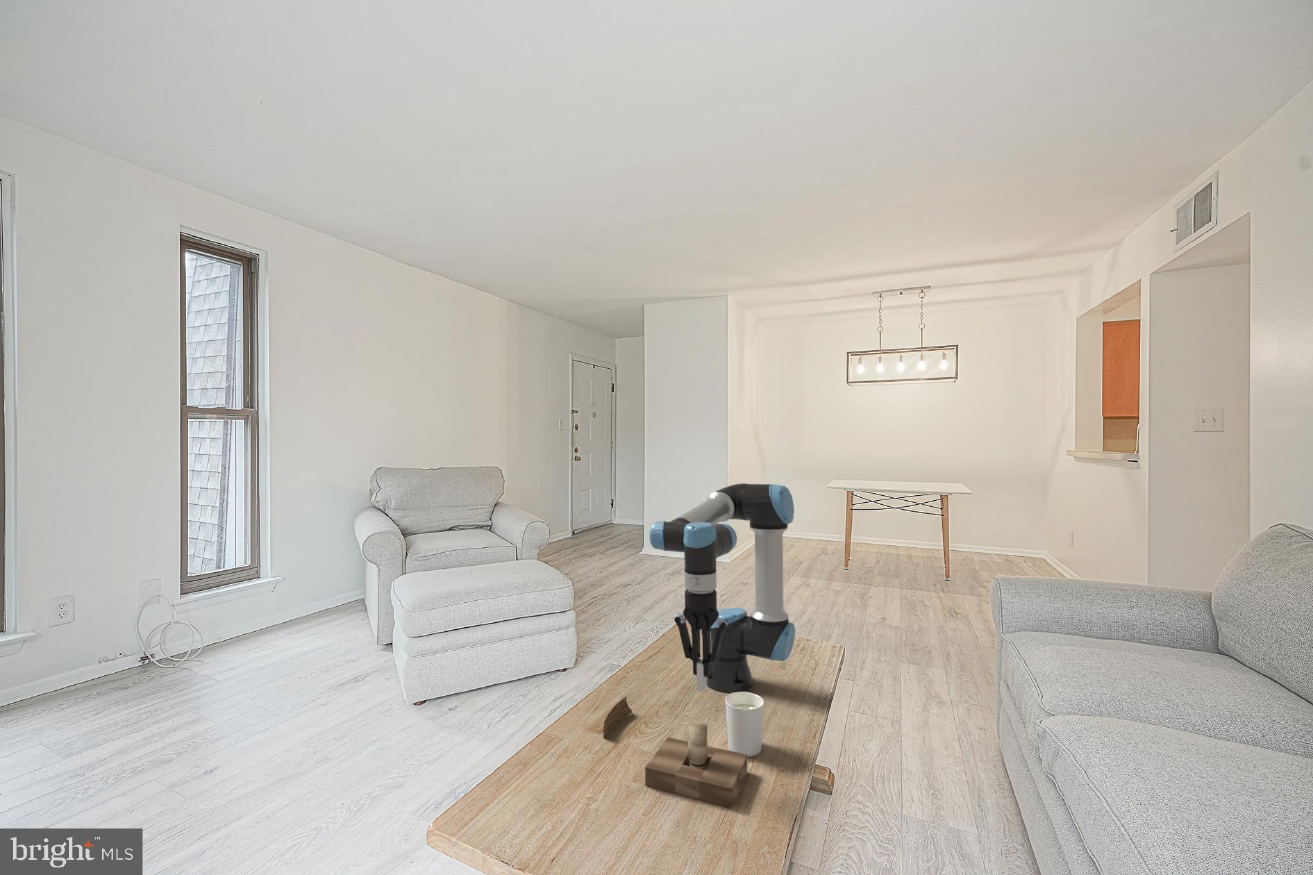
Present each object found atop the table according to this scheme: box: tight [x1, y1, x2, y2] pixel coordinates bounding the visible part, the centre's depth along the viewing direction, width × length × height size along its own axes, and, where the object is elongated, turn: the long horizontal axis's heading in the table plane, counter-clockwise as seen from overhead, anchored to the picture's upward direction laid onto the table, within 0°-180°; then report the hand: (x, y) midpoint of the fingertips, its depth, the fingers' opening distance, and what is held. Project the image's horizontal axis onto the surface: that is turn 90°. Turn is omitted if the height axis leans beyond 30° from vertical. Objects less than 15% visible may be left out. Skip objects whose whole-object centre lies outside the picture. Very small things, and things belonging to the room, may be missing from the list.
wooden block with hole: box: [644, 736, 748, 808], centre depth 126 cm, size 14×20×4 cm
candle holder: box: [724, 691, 765, 758], centre depth 139 cm, size 10×10×12 cm
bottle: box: [687, 720, 708, 770], centre depth 126 cm, size 4×4×12 cm
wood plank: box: [602, 695, 633, 739], centre depth 151 cm, size 15×2×5 cm, turn 159°
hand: (701, 688), depth 130 cm, fingers closed
